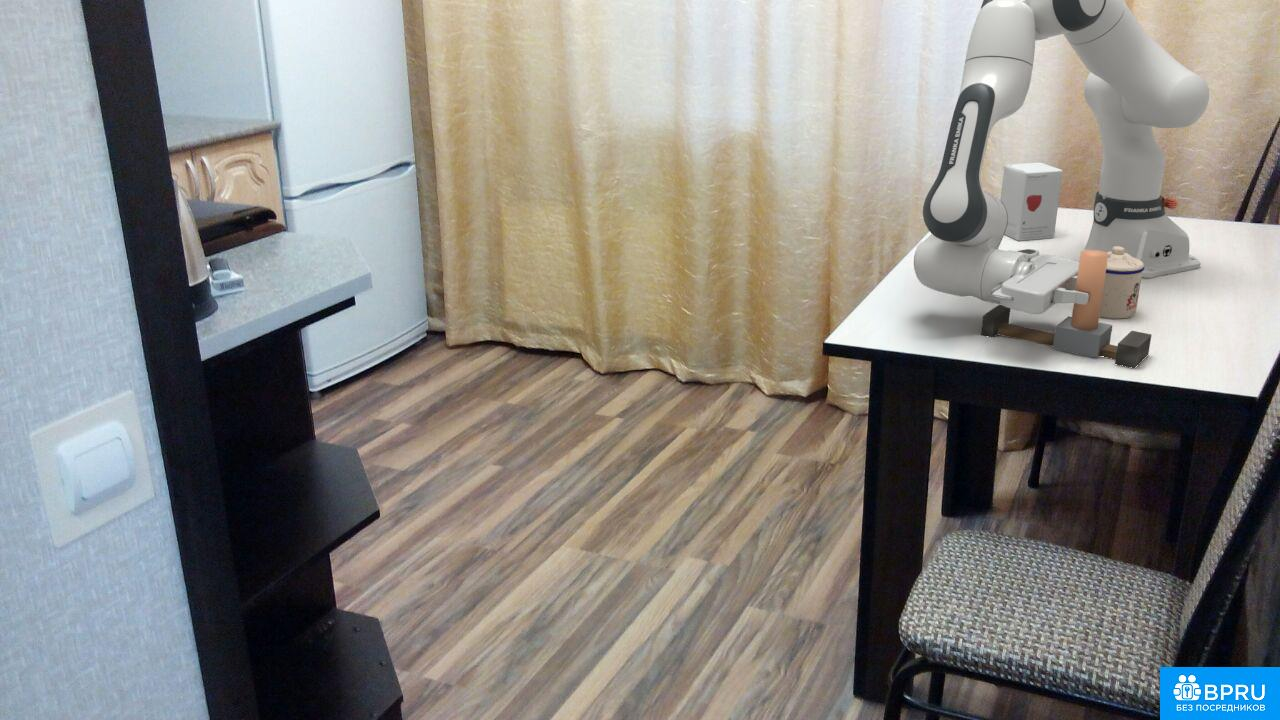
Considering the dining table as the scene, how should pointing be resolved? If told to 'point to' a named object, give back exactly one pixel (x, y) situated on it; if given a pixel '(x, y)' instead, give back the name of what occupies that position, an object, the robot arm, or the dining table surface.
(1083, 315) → the slider with handle
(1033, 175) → the supplement box
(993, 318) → the rail
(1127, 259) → the teacup with lid
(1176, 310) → the dining table surface
